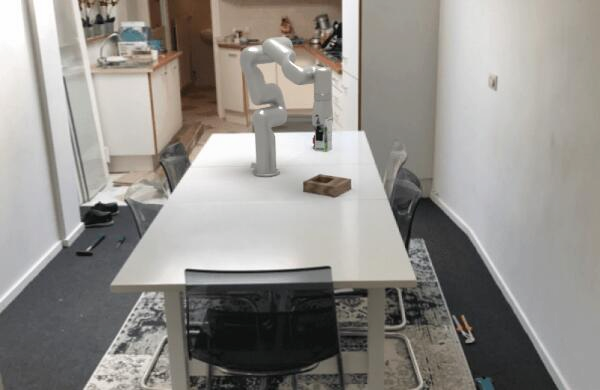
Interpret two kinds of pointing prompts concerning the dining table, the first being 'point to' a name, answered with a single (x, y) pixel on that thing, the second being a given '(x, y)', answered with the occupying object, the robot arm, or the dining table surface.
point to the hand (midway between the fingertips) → (323, 138)
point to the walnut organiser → (327, 185)
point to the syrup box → (325, 137)
